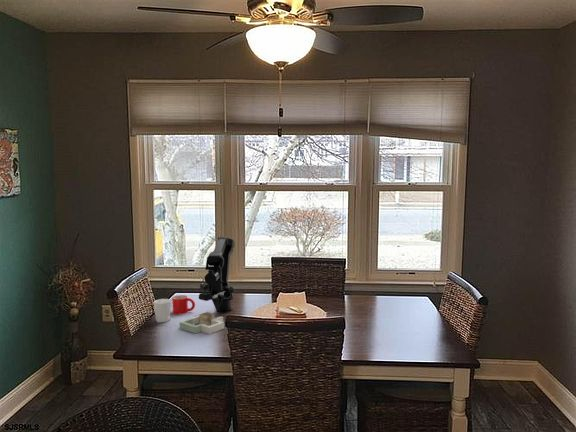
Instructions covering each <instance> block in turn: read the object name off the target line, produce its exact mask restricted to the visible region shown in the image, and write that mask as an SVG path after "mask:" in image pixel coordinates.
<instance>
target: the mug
mask: <svg viewBox="0 0 576 432" xmlns="http://www.w3.org/2000/svg"><path fill="white" fill-rule="evenodd" d="M171 301H172V313H173V314H175V315H183V314H184V315H185V314H187V313H188V312H192V311H193V310H194V309H195V308H196V307H195V306H196V302H195V301H194V299H192V298H190V297H188V296H187V295H183V294H182V295H175V296H173V297H172V298H171ZM189 302H190V303H191V307H190V308H189V305H188V304H189Z"/></svg>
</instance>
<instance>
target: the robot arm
mask: <svg viewBox="0 0 576 432" xmlns="http://www.w3.org/2000/svg"><path fill="white" fill-rule="evenodd" d="M235 242H236V241H235V240H234V239H232V238H229V237H227V236H219V237H217V243H216V245H215V247H214V249H213V251H211V252H209V254H208V256H207V257H206V263H205V271H207V273H206V274H205V276H204V281H205V282H204V283H202V284H201V283H200V285H199V287H200V291H201V292H200V293H199V294H198V300H202V301H204V302H208V301H212V303H213V306H214V308H215V310H216V312H219V313H223V314H224V313H228V312H232V311H233V308H231V307H232V306H231V305H232V304H231V301H232V300H234V294H233V293H234V292H235V291H234V287H233V286H231V285H230V283H229V273H230V261H231V260H230V259H231V258H230V257H231V255H232V254H233V252H234V248H235V246H236V245H235V244H236V243H235ZM202 291H203V292H202Z"/></svg>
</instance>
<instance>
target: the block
mask: <svg viewBox="0 0 576 432" xmlns="http://www.w3.org/2000/svg"><path fill="white" fill-rule="evenodd" d="M198 316H199V318H200V323H199V324H201V323H202V324H205V325H208V326H211V320H212V319H215V314H214V313H212V312H210V311H205V312H202V313H200V314H199V315H198Z"/></svg>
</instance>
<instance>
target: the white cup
mask: <svg viewBox="0 0 576 432" xmlns="http://www.w3.org/2000/svg"><path fill="white" fill-rule="evenodd" d="M153 305H154V313H155V320H156V321H155V322H157V323H167V322H169V321H170V320H171V300H170V299H169V298H159V299H156V300H154V301H153Z"/></svg>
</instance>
